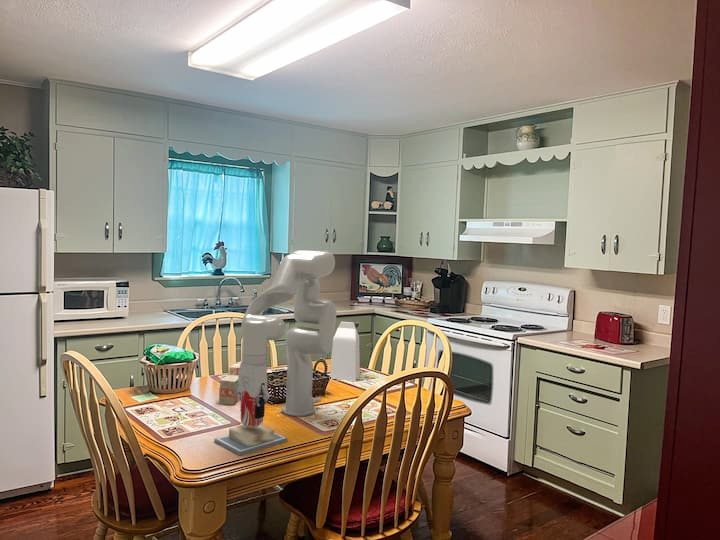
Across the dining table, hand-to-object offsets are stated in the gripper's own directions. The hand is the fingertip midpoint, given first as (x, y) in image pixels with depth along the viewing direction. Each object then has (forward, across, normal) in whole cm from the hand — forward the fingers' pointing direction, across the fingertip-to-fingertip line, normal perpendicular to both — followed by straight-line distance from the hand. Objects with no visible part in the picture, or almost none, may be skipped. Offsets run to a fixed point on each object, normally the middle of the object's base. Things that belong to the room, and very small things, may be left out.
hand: (252, 414), depth 177 cm
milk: (+9, -38, +79) cm, 88 cm away
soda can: (+3, 0, 0) cm, 3 cm away
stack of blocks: (+9, -43, +24) cm, 50 cm away
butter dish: (+9, 0, 0) cm, 9 cm away
